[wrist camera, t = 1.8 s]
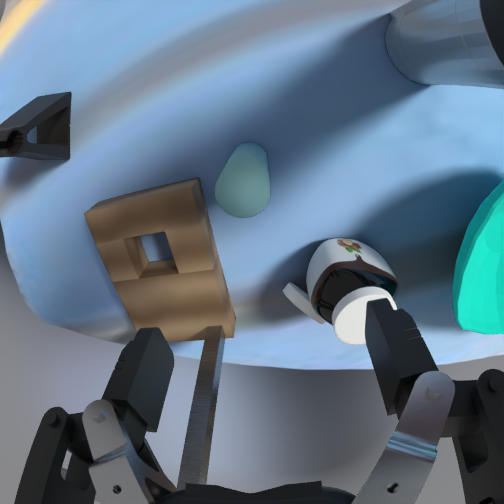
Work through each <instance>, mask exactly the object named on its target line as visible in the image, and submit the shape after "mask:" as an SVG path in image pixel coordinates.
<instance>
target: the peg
mask: <svg viewBox="0 0 504 504" xmlns="http://www.w3.org/2000/svg"><path fill="white" fill-rule="evenodd" d="M270 192H271V191H270V180H269V169H268V159H267V154H266V152H265V150H264V149H263V148H262V147H261V146H260V145H258V144H256V143H253V142H246V143H242V144H240V145H239V146H237V147H236V148H235V149H234V151H233V153H232V154H231V156H230V158H229V160H228V161H227V163H226V165H225V167H224V169H223V170H222V172H221V174H220V176H219V178H218V180H217V182H216V185H215V197H216V200H217V202H218V204H219V206H220V207H221V208H222V209H223V210H224V211H225V212H226V213H228V214H230V215H232V216H235V217H239V218H247V217H252V216H254V215H256V214H258V213H260V212H261V211H262V210H263V209H264V208H265V207H266V205H267V204H268V202H269V199H270Z"/></svg>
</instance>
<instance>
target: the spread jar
mask: <svg viewBox="0 0 504 504" xmlns="http://www.w3.org/2000/svg"><path fill="white" fill-rule="evenodd" d="M306 283H307V289H308V294H309V295H308V294H307V293H305V292H304V291H303V290H301V289H300V288H299V287H297V286H296V285H294V284H293V283H291V282H289V283H288V284H287V285H286V287H285V288H284V289H283V293H284V294H285V295H286V297H287V298H288V299H289V300H290V301H291V302H292V303H293V304H295V305H296V306H297V307H298V308H299V309H300V310H301V311H303V312H304V313H305V314H306V315H308V316H309V317H311V318H312V319H313V320H315V321H317V322H318V323H320V324H324V323H325V322H328V323H329V324H331V325H333V327H334V331H335V334H336V336H337V337H338V338H339V339H340V340H341V341H343V342H345V343H348V344H352V345H361V344H366V340H365V320H366V306H367V302H368V301H371V300H376V299H381V298H388V300H389V301H390V303H391V305H392V307H393V309H394V310H397V307H396V304H395V299H396V296H397V292H398V282H397V279H396V277H395V275H394V273H393V272H392V270H391V268H390V267H389V265H388V264H387V262H386V261H385V260H384V259H383V257H382V256H381V255H380V254H379V253H378V252H376V251H375V250H374V249H372V248H371V247H369V246H368V245H366V244H364V243H363V242H361V241H358V240H356V239H352V238H347V237H337V238H331V239H328V240H326V241H324V242H323V243H322V244H321V245H320V246H319V247H318V248H317V250H316V251H315V253H314V254H313V256H312V258H311V260H310V263H309V266H308V271H307V277H306Z"/></svg>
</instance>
